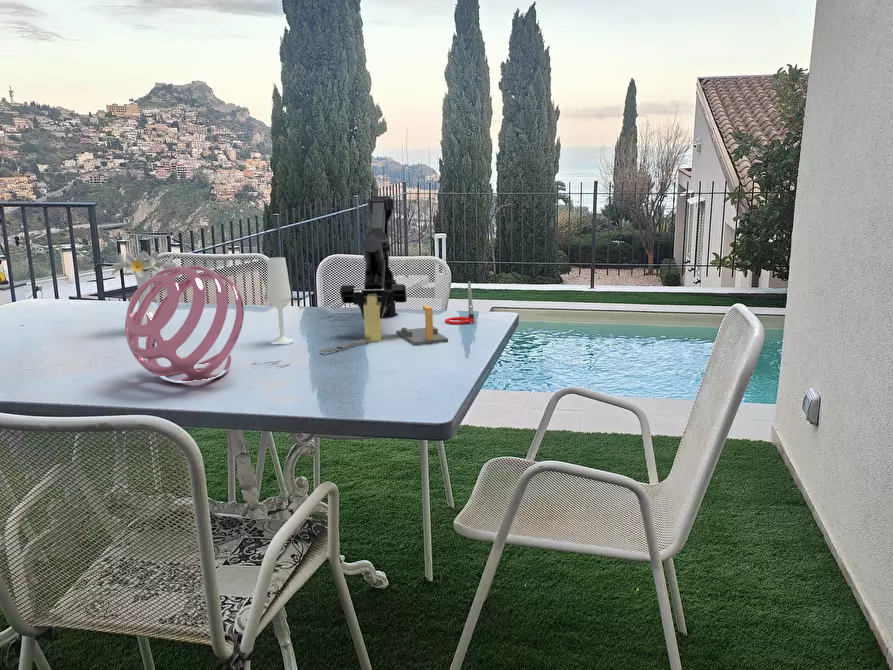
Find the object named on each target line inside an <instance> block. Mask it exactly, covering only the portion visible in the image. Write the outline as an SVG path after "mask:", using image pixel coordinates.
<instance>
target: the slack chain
mask: <svg viewBox="0 0 893 670" xmlns="http://www.w3.org/2000/svg"><path fill="white" fill-rule="evenodd" d="M352 345H353V346H352ZM364 345H369V342H368V340H365V338H364V339H359V340H353V341H350V343H348V342H344V343H341V344H339V345H337V346H336V347H335V346H332V347H329V348H324V349H320V350H319V352H320V351H321V352H324V353H326V352H332V351H340V350H339V349H342V350H343V349H346V348H348V349H350V348H349V347H351V348H353V347H355V346H356V347H360V346H364ZM346 350H347V349H346ZM343 351H344V350H343Z"/></svg>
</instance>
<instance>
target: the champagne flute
mask: <svg viewBox="0 0 893 670" xmlns="http://www.w3.org/2000/svg"><path fill="white" fill-rule="evenodd" d="M289 280H290V278H289V273H288V266H287V262H286V257H282V256H280V257H279V256H278V257H269V258H267V279H266V281H267V282H266V283H267V284H266V285H267V286H266V287H267V288H266V299H267V301H268V303H269V304H270V305H271V306H272V307H273V308H275V309H276V310H277V314H278V327H279V336H278V337H277V338H276V339H274V340H273V341H275V342H281V343H284V342H290V341H292V340H293V339H291V338H290V337H287V336H285V330H284V329H285V328H284V327H285V326H284V316H283V315H284V314H283V309H285V308H286V306H288V304H289V303H290V302H291V300H292V292H291V285H290V281H289Z"/></svg>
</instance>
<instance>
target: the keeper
mask: <svg viewBox="0 0 893 670" xmlns="http://www.w3.org/2000/svg"><path fill="white" fill-rule="evenodd" d="M422 311H423V312H424V318H425V319H424V322H425V323H424V324H425V327H419V328H409V329H408V328H407V327H401V328H400V330H395V333H396V335H397V336H399V337H400V336H401V337H400V338H401V339H403V338H404V339H403V340H405V339H406V340H407V341H406V340H405V341H406V342H408V341H409V342H410V343H409V342H408V343H409V344H411V343H412V344H413V346H414V345H417V346H422V345H423V344H426V345H432V343H435V344H440V343H439V342H443V343H448V342H449V338H448V337H446V336H444V335H442V333H441V334H440V333H439V329H438V328H437V327H435V326H433V325H434V320H433V318H434V317H433V307H431V306H428V305H423V306H422ZM412 344H411V345H412ZM423 346H424V345H423Z"/></svg>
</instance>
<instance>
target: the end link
mask: <svg viewBox="0 0 893 670" xmlns="http://www.w3.org/2000/svg"><path fill="white" fill-rule="evenodd" d="M363 306H364V319H363V323H364V340H368V343H371V342H375V343H376V341H377V342H382V340H383V318H382V319H380V309H381V302H377V294H368V295H367V302H365V304H364V305H363Z"/></svg>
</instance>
